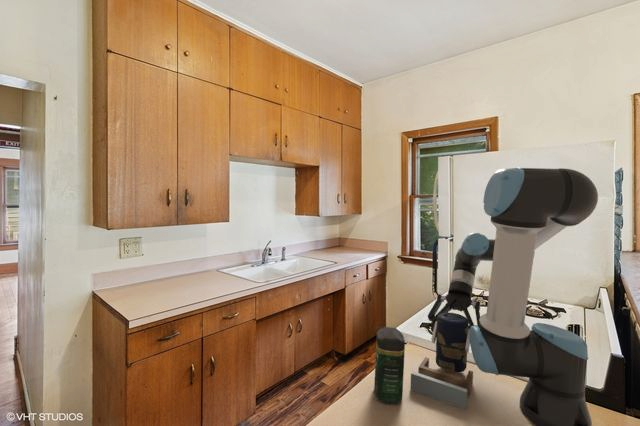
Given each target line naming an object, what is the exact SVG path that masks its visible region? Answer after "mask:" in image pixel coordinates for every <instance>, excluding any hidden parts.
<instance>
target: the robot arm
mask: <svg viewBox="0 0 640 426" xmlns="http://www.w3.org/2000/svg"><path fill="white" fill-rule="evenodd" d="M598 200H599V194H598V190H597V187H596V185H595V184H594V182H593V181H592V179H590V177H588V176H587V175H586V174H584V173H582V172H580V171H577V170H574V169H572V168H563V167H561V168H560V167H559V168H546V167H545V168H540V167H539V168H538V167H537V168H535V167H533V168H532V167H531V168H530V167H510V168H509V167H506V168H501V169H498V170H497V171H495V172H494V173H493V174H492V176H491V177H490V178H489V180H488V182H487V184H486V186H485V190H484V194H483V209H484V210H483V211H484V212H485V214H486V215H487V216H489V217H490V223H491V224H492V225H493V226H494V227H495V239H492V238H491V239H488V237H487V236H486V235H484V234H482V233H479V232H471V233H469V234H467V236H466V237H465V239H464V240H463V241H462V244H461V247H460V248H458V249H457V252H456V255H455V260H454V265H453V271H452V273H451V278H450V283H449V286H448V287H449V288H448V292H447V294H446V295H442V294H441V293H438V294H437V295H436V301H435V302H434V304H433V306H432V307H431V309H430V311H429V312H428V314H427V318H428V319H427V320H428V321H430V322H431V326H430V331H431V333H432V335H431V342H432V344H436V338H437V317H438V315H439V314H441V313H450V312H451V311H459V312H463V314H464V317H466V318H467V320H468V327H470V328H468V335H467V341H466V347H465V350H466V352H467V354H469V351H470V350H471V353H472V358H473V360H474V363H475V365H476V367H477V368H478V369H479V370H480V371H481V372H482V373H485V374H492V375H495V376H510V377H518V378H519V377H520V378H528V381H527V383H526V384H525V387H524V388H523V390H522V392H521V394H520V397H519V409H520V411H521V412H522V414H523V416H525V418H526V419H528V420H529V421H531V422H532V423H533V424H535V425H536V426H593V424H592V423H593V422H592V418H591V415H590V411H589V408H588V405H587V402H586V398H585V393H586V391H585V390H586V380H587V379H586V377H587V368H588V367H587V366H588V360H589V354H588V344H587V342H586V341H585V340H584V339H583V338H582V337H581V336H579V335H578V334H576V333H574V332H573V331H571V330H567V329H565V328H562V327H559V326H555V325H554V324H553V325H552V324H549V323H548V324H547V323H544V322H543V323H541V322H536V323H533V324H532V326H531V328H530V327H529V326H528V324H526V322H525V321H526V320H525V319H526V313H527V308H528V307H527V306H528V300H529V294H530V293H529V292H530V286H531V285H530V284H531V281H532V280H531V279H532V271H533V264H534V257H535V250H536V249H538V248H539V247H540V246H542V245H544V244H545V243H546V242H548V241H549V240H550V239H552V238H553V237H554V236H556V235H557V234H559V233H560V232H562V231H563V230H564V229H566V228H567V227H575V226H577V225H579V224H581V223H582V222H583V221H585V220H587V218H588V217H590V216H591V215H592V214H593V212H594V211H595V209H596V208H597V205H598ZM482 261H484V262H485V261H486V262H492V264H491V271H490V281H489V289H488V299H487V305H486V307H487V308H486V313H484V314H482V315H481V313H480V310H481V302H480V301H479V300H477V301H473V300H472V295H473V288H474V284H475V278H476V271H477V267H478V266H479V264H480V262H482ZM445 301H446V303H445V305H444V306H443V307H442V308H441V309H440V307H441V305H442V303H444V302H445ZM471 306H472V308H473V309H474V311H475V318H476V324H474V322H473V319H472V317H471V314H470V311H469V310H468V308H470V307H471ZM439 309H440V311H439Z"/></svg>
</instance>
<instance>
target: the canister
mask: <svg viewBox="0 0 640 426" xmlns="http://www.w3.org/2000/svg"><path fill="white" fill-rule="evenodd" d="M468 329H469V323H468V320H467V318H466V316H465V315H463V314H459V313H454V312H448V313H441V314H439V315H438V317H437V337H436V341H435V364H436V365H437V366H438V367H439V369H442V370H444V371H446V372H448V373H454V374H455V373H457V374H458V373H460V374H461V373H462V372H464V371H466V369H467V362H468V352H466V350H465V347H466V341H467V335H468Z"/></svg>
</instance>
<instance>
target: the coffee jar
mask: <svg viewBox="0 0 640 426" xmlns="http://www.w3.org/2000/svg"><path fill="white" fill-rule="evenodd" d="M375 335H376V341H375V363H374V365H375V366H374V383H373V384H374V387H373V388H374V389H373V391H374V396H375V398H376V400H378V401H379V402H382V403H384V404H388V405H394V404H399V403H402V400H403V392H404V389H403V388H404V372H405V371H404V370H405V354H406V352H405V348H406V347H405V346H406V345H405V343H406V340H405V336H404V334H403V332H401V331H400V330H399V329H397V328H396V327H391V326H389V327H388V326H382V327H381V328H380V329H378V330H377V332H376V334H375Z"/></svg>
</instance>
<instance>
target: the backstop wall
mask: <svg viewBox="0 0 640 426" xmlns="http://www.w3.org/2000/svg"><path fill="white" fill-rule="evenodd" d="M409 387H410V391H413V392H415V393H417V394H420V395H424V396H426V397H429V398H431V399H433V400H436V401H440V402H442V403H445V404H448V405H450V406H453V407H455V408H459V409H461V410H464V411H466V410H467V405H468V396H467V390H468V389H465V388H462V387H459V386H456V385H453V384H450V383H447V382H444V381H441V380H438V379H435V378H432V377H429V376H426V375H423V374H420V373H418V371H413V370H412V371H411V373H410V386H409Z"/></svg>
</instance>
